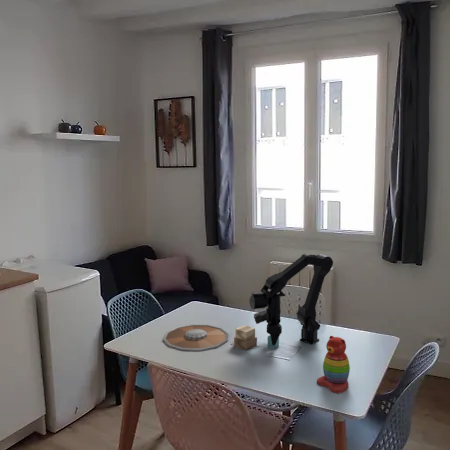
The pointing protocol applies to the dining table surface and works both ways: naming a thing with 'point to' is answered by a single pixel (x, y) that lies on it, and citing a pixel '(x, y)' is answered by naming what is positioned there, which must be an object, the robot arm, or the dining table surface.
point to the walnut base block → (245, 343)
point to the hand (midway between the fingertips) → (273, 341)
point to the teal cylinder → (269, 343)
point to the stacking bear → (335, 366)
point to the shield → (196, 337)
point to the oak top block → (245, 333)
